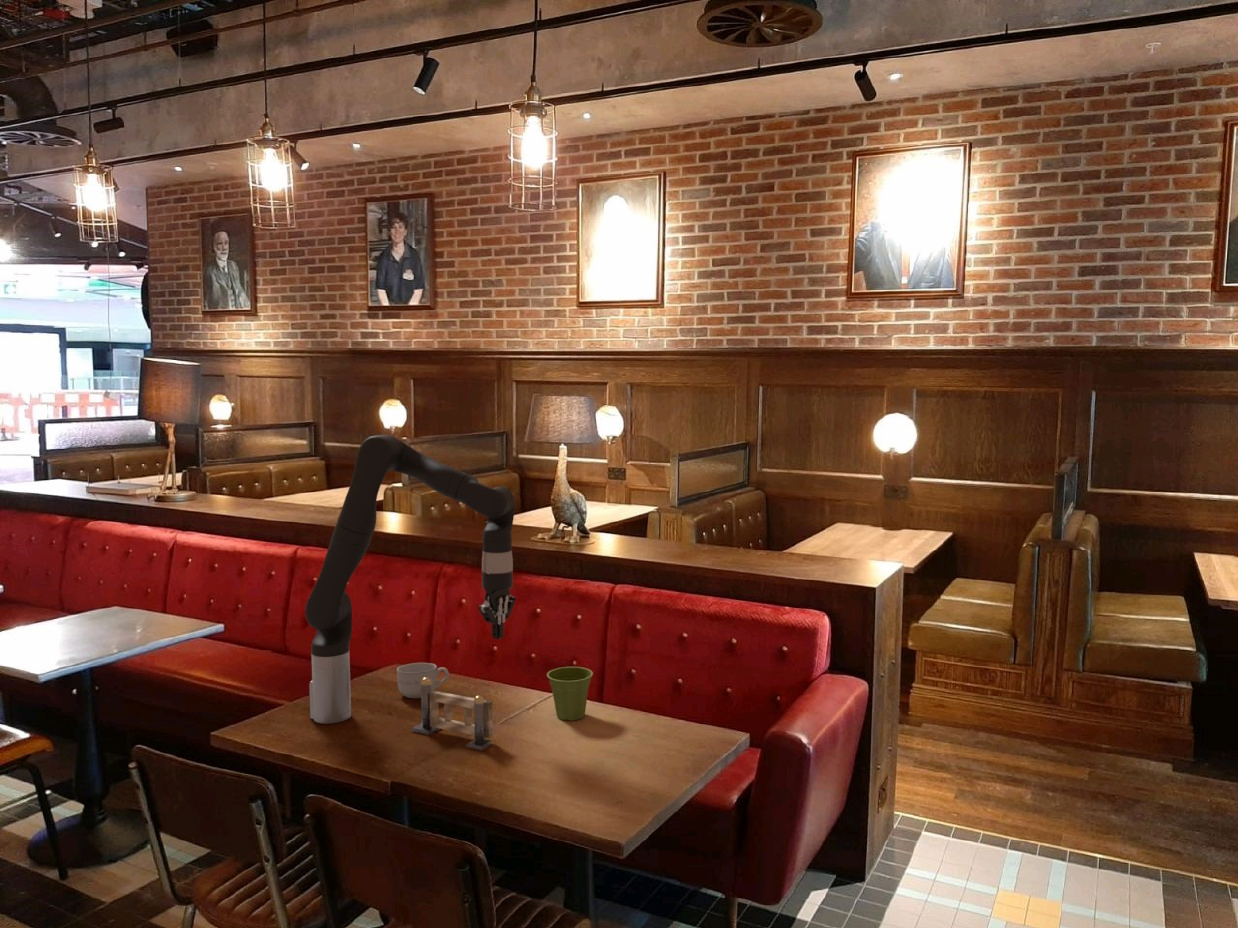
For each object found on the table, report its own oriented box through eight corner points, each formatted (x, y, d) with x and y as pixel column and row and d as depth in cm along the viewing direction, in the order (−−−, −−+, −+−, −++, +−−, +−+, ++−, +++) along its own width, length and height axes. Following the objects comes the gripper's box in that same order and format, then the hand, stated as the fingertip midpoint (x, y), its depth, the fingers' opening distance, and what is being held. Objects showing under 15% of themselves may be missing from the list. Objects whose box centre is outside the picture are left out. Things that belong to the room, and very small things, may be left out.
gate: (430, 726, 226) (429, 692, 225) (433, 724, 227) (433, 690, 226) (489, 738, 218) (488, 703, 217) (492, 736, 219) (492, 701, 219)
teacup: (391, 700, 249) (390, 671, 248) (406, 687, 259) (406, 659, 259) (440, 703, 246) (439, 674, 246) (454, 690, 257) (453, 662, 256)
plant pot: (566, 704, 245) (566, 663, 244) (602, 714, 238) (602, 671, 237) (537, 718, 236) (537, 675, 235) (573, 728, 229) (573, 683, 228)
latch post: (467, 747, 216) (466, 696, 215) (477, 741, 220) (476, 691, 219) (481, 750, 215) (480, 699, 214) (491, 744, 218) (490, 694, 217)
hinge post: (412, 731, 226) (411, 678, 225) (425, 724, 231) (424, 673, 230) (428, 735, 224) (427, 681, 223) (441, 728, 228) (440, 675, 227)
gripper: (500, 562, 233) (501, 629, 234) (468, 572, 221) (469, 642, 223) (525, 565, 229) (525, 633, 231) (493, 575, 218) (494, 647, 219)
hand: (497, 638), depth 227 cm, fingers closed
